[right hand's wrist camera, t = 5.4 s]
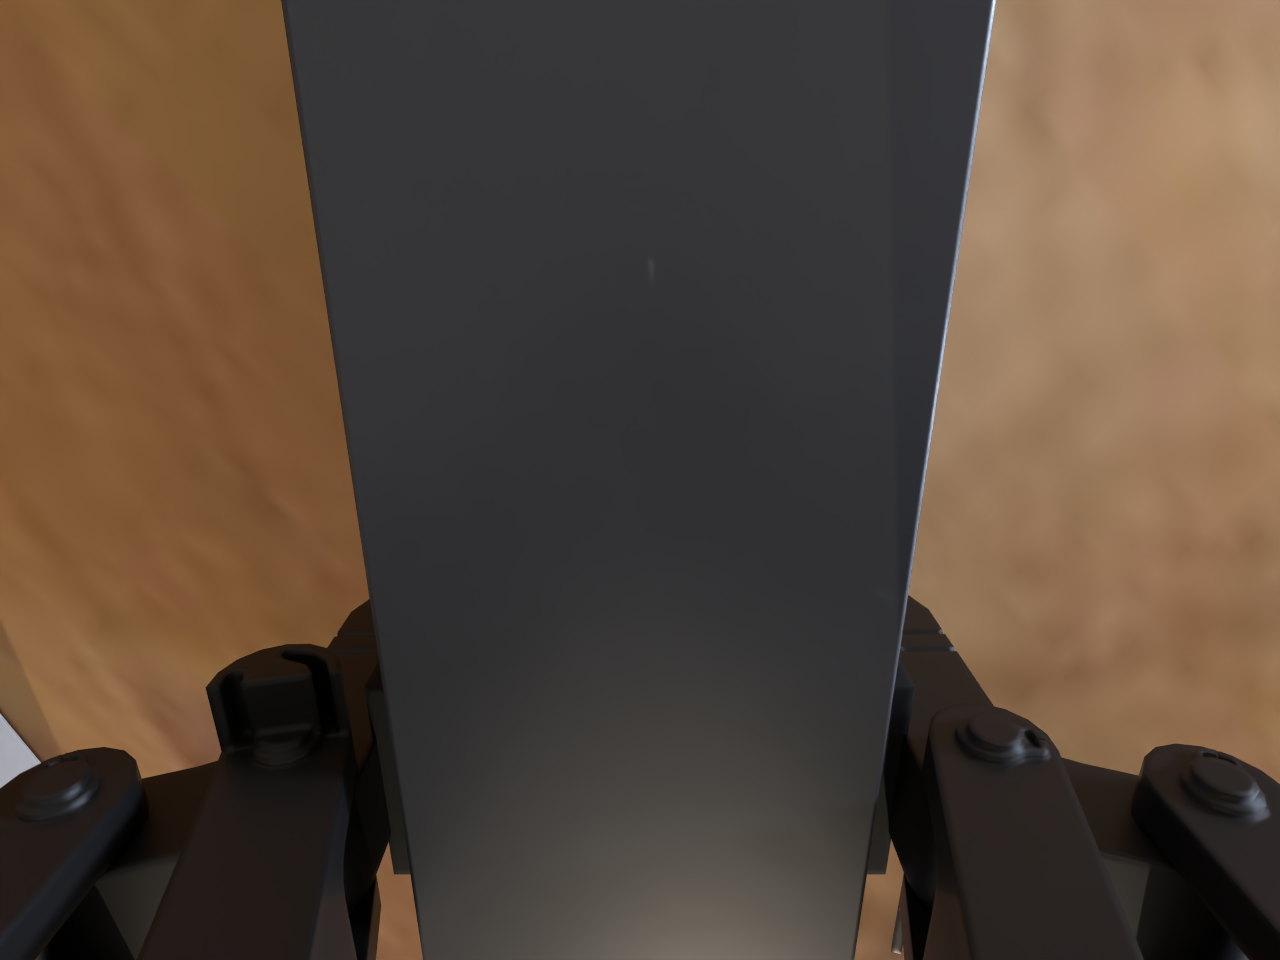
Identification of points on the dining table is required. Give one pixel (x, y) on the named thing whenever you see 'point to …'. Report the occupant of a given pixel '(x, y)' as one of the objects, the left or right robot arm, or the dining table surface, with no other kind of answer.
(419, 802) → the bar
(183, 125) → the dining table surface
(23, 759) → the pale grey block
